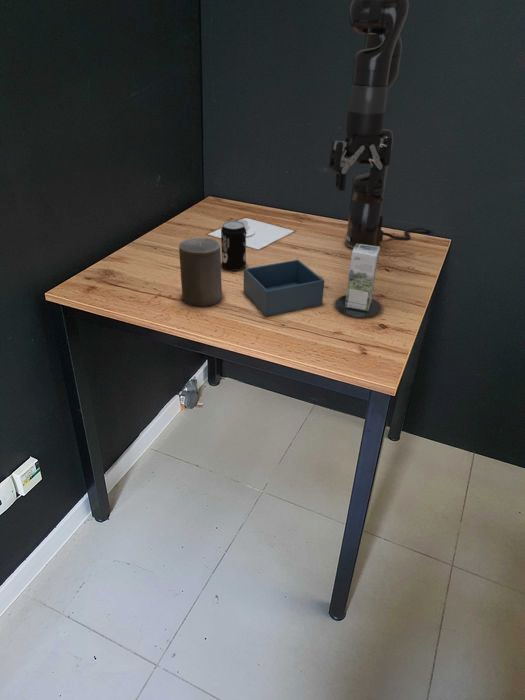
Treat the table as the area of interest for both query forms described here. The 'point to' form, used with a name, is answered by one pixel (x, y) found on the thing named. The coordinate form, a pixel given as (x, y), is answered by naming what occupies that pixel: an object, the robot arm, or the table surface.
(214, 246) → the pillar candle
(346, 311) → the coaster
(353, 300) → the syrup box
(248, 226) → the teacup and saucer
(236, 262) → the beverage can
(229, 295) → the table surface
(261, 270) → the bin
